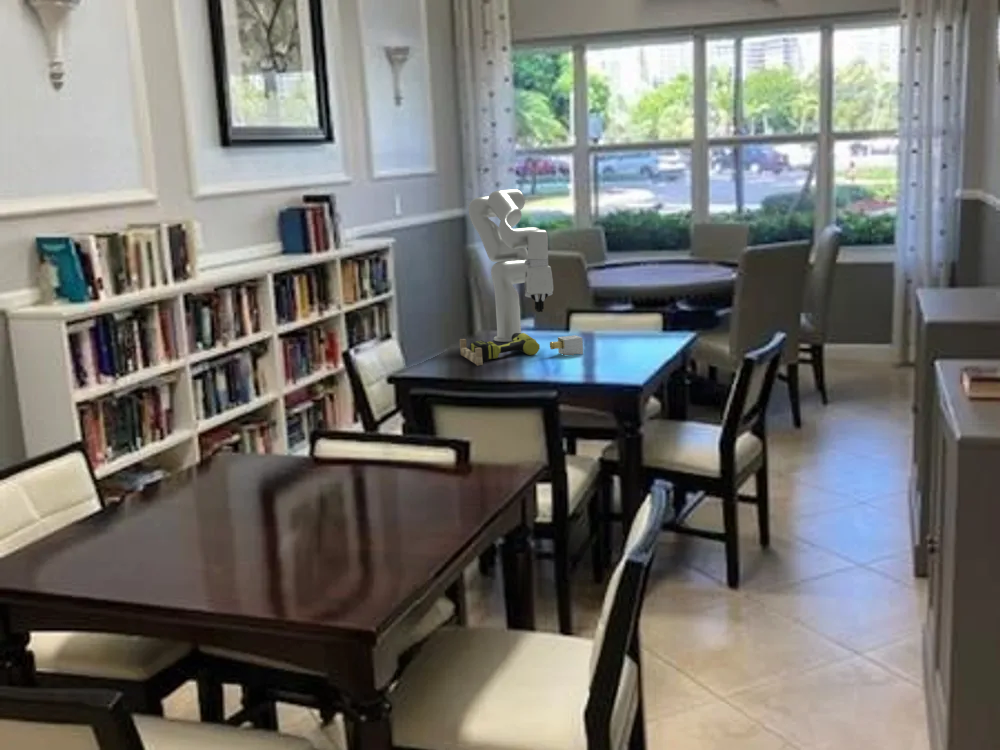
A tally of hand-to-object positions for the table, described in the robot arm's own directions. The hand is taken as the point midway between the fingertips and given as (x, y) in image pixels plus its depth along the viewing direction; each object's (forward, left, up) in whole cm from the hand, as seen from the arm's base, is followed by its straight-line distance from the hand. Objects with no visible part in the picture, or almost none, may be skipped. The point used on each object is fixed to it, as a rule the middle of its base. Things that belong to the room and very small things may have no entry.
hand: (539, 311), depth 396 cm
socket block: (+18, +5, -14) cm, 24 cm away
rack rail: (+8, -30, -14) cm, 34 cm away
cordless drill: (+2, -16, -15) cm, 22 cm away
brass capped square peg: (+18, +3, -12) cm, 22 cm away
